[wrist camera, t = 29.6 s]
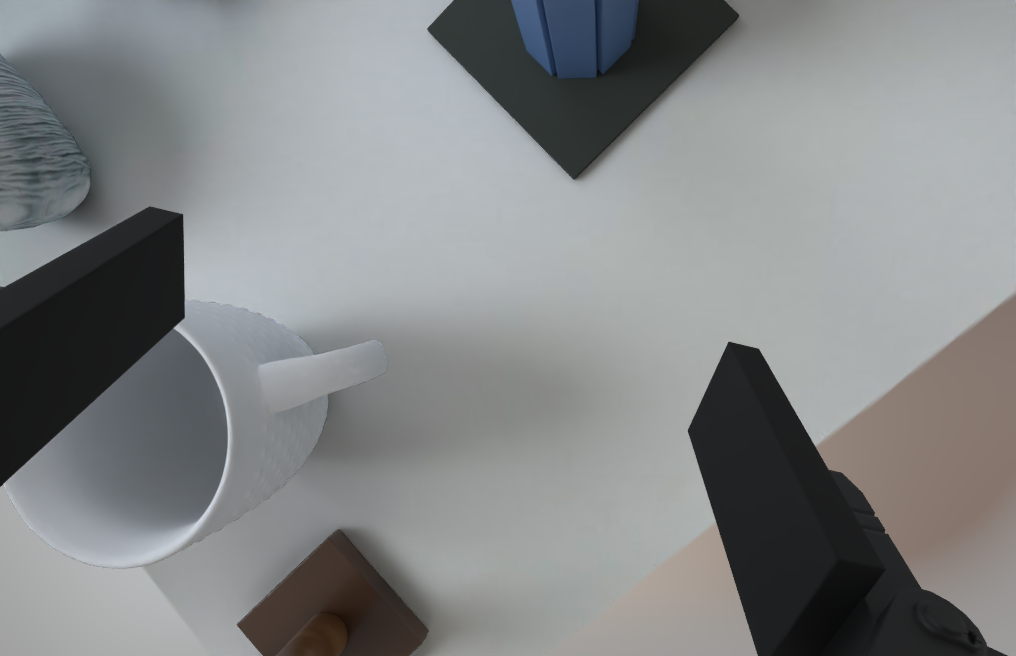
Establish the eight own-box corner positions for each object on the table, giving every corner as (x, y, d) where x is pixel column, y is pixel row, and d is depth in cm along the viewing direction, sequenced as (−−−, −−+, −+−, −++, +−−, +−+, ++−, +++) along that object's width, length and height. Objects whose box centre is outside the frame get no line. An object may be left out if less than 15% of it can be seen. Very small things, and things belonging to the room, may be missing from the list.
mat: (428, 31, 37) (426, 28, 36) (581, -132, 35) (581, -137, 35) (574, 180, 36) (573, 178, 35) (738, 18, 34) (739, 14, 34)
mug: (389, 257, 37) (277, 229, 24) (445, 439, 37) (361, 507, 24) (168, 333, 39) (-44, 344, 26) (219, 505, 39) (31, 600, 26)
